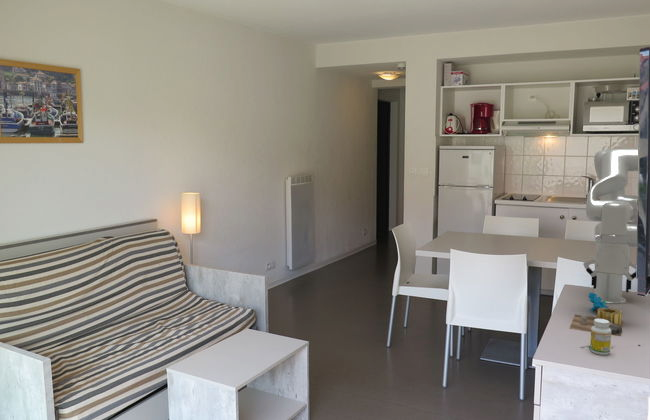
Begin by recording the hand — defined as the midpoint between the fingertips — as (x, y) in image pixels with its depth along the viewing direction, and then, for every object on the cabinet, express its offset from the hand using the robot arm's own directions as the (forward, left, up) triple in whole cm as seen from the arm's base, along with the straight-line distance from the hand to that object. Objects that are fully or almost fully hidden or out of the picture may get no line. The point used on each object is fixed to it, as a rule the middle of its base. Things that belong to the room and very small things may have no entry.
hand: (610, 289), depth 179 cm
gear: (-13, +4, -13) cm, 19 cm away
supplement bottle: (+21, -15, -13) cm, 29 cm away
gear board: (+1, -5, -13) cm, 14 cm away
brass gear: (-1, 0, -12) cm, 12 cm away
